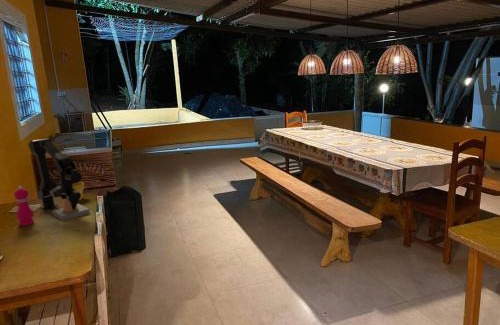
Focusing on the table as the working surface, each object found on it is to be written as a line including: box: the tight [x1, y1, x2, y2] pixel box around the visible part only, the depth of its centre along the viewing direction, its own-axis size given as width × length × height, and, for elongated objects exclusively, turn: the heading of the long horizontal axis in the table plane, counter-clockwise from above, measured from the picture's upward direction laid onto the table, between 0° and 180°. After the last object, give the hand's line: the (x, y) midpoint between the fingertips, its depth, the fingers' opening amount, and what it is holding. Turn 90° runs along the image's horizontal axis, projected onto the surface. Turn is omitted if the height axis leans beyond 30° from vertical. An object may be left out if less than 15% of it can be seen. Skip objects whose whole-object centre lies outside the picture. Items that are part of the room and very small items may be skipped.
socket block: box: [51, 203, 90, 222], centre depth 196 cm, size 14×14×3 cm
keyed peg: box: [61, 198, 77, 213], centre depth 196 cm, size 6×4×9 cm, turn 139°
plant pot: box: [73, 181, 85, 201], centre depth 221 cm, size 10×10×10 cm
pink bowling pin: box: [13, 185, 34, 226], centre depth 183 cm, size 7×7×20 cm
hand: (70, 207), depth 196 cm, fingers open, 9 cm apart
